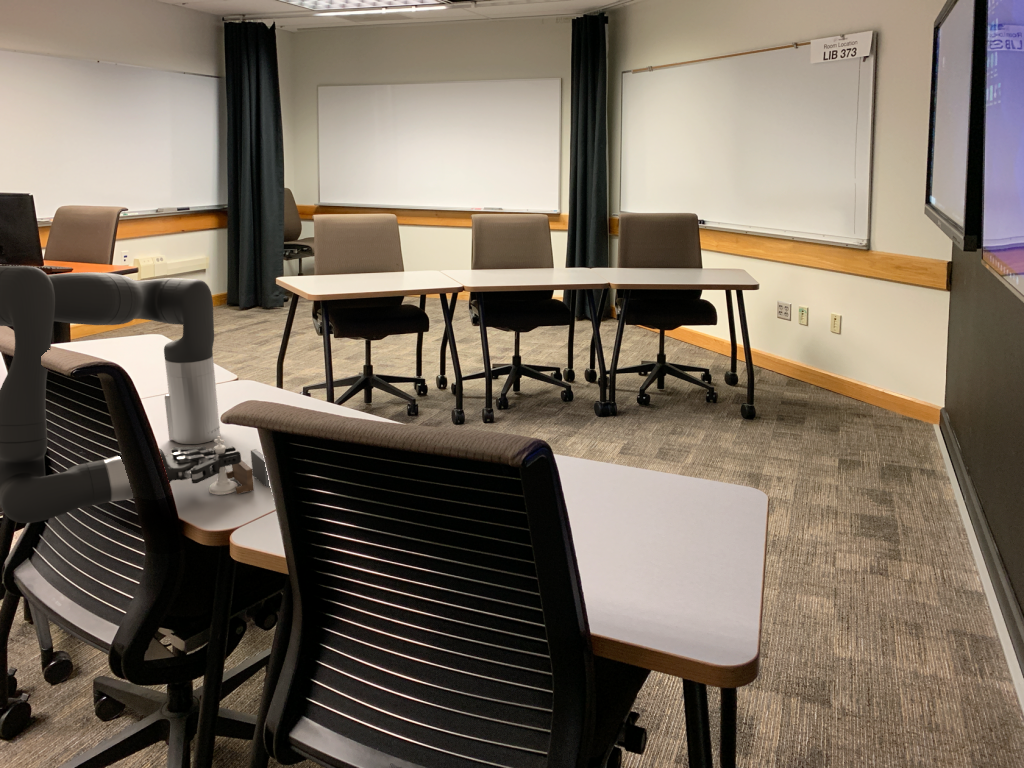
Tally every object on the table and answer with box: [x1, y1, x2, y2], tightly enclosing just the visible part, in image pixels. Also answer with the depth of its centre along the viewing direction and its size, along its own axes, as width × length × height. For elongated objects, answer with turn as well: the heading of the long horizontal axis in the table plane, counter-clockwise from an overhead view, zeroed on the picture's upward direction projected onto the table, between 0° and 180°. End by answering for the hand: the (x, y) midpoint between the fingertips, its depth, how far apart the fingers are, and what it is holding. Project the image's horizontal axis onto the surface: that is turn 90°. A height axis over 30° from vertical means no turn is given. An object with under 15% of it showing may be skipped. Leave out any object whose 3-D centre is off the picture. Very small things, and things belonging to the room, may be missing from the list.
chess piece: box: [208, 435, 238, 496], centre depth 156 cm, size 5×5×10 cm
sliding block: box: [226, 459, 255, 495], centre depth 158 cm, size 3×8×4 cm, turn 35°
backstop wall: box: [250, 448, 270, 488], centre depth 160 cm, size 1×7×5 cm, turn 36°
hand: (237, 454), depth 157 cm, fingers closed on chess piece
